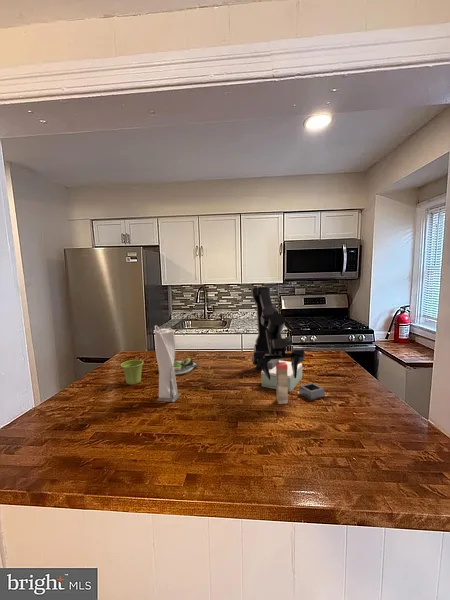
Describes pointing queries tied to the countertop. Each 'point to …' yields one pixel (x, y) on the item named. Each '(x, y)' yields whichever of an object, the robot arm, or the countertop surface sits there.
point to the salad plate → (183, 366)
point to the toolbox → (291, 382)
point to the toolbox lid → (272, 367)
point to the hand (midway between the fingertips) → (282, 378)
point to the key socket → (311, 391)
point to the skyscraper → (166, 364)
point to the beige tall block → (281, 382)
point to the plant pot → (132, 371)
